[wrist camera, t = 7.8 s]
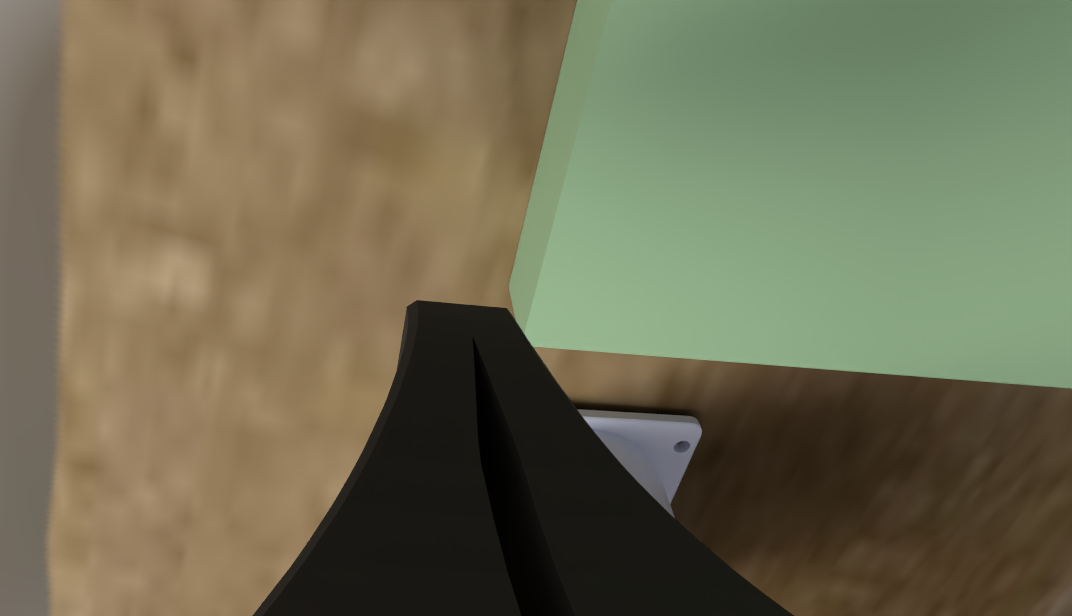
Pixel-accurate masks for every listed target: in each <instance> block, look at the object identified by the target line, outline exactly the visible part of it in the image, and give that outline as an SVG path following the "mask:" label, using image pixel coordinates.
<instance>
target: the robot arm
mask: <svg viewBox="0 0 1072 616" xmlns="http://www.w3.org/2000/svg"><path fill="white" fill-rule="evenodd" d="M701 434H702V429H701V426H700V424H699V422H698V420H697V419H696V418H694V417H691V416H681V415H665V414H648V413H631V412H614V411H598V410H581V409H577V408H576V407H575V406H574V404H573V403H572V402H571V400H570V399H569V398H568V396H567V395H566V394H565V392H564V391H563V390H562V388H561V387H560V386H559V384H558V383H557V381H556V380H555V379H554V377H553V376H552V374H551V373H550V371H549V370H548V368H547V367H546V366H545V364H544V363H543V361H542V360H541V358H540V357H539V355H538V354H537V352H536V351H535V349H534V348H533V346H532V345H531V343H530V342H529V340H528V339H527V337H526V336H525V334H524V333H523V331H522V329H521V328H520V326H519V325H518V323H517V322H516V320H515V319H514V317H513V316H512V314H511V313H510V312H509V311H508V309H507V308H498V307H487V306H476V305H464V304H453V303H442V302H430V301H419V300H417V301H415V302H413V303H412V304H410V305H409V306H407V310H406V316H405V323H404V329H403V335H402V342H401V348H400V354H399V360H398V367H397V372H396V375H395V378H394V380H393V383H392V386H391V389H390V391H389V394H388V397H387V400H386V402H385V404H384V407H383V409H382V411H381V413H380V416H379V418H378V420H377V422H376V424H375V426H374V428H373V431H372V433H371V435H370V437H369V439H368V441H367V443H366V446H365V448H364V450H363V452H362V453H361V455H360V457H359V459H358V461H357V463H356V465H355V467H354V468H353V470H352V472H351V474H350V476H349V477H348V479H347V481H346V483H345V484H344V486H343V488H342V489H341V491H340V493H339V495H338V496H337V498H336V500H335V501H334V503H333V505H332V506H331V508H330V509H329V511H328V512H327V514H326V515H325V517H324V519H323V520H322V522H321V523H320V525H319V526H318V528H317V529H316V531H315V532H314V534H313V535H312V537H311V538H310V540H309V541H308V543H307V544H306V546H305V547H304V549H303V550H302V552H301V553H300V554H299V556H298V557H297V559H296V560H295V561H294V563H293V564H292V566H291V567H290V568H289V570H288V571H287V572H286V573H285V575H284V576H283V577H282V579H281V580H280V581H279V582H278V584H277V585H276V586H275V588H274V589H273V590H272V591H271V593H270V594H269V595H268V597H267V598H266V599H265V600H264V602H263V603H262V604H261V606H260V607H259V608H258V609H257V611H256V612H255V613H254V615H253V616H794V615H792V614H791V613H790V612H788V611H787V610H786V609H784V608H783V607H781V606H780V605H779V604H777V603H776V602H774V601H773V600H772V599H770V598H769V597H768V596H766V595H765V594H764V593H762V592H761V591H760V590H759V589H757V588H756V587H755V586H753V585H752V584H751V583H750V582H748V581H747V580H746V579H744V578H743V577H742V576H741V575H739V574H738V573H737V572H736V571H734V570H733V569H732V568H731V567H730V566H728V565H727V564H726V563H725V562H724V561H723V560H721V559H720V558H719V557H718V556H717V555H715V554H714V553H713V552H712V551H711V550H710V549H708V548H707V547H706V546H705V545H704V544H703V543H701V542H700V541H699V540H698V539H697V538H695V537H694V536H693V535H692V534H691V533H690V532H689V531H688V530H687V529H686V528H685V527H683V526H682V525H681V524H680V523H679V522H678V521H677V520H676V519H675V517H674V514H673V511H672V509H671V506H670V504H671V501H672V499H673V497H674V495H675V492H676V490H677V488H678V486H679V484H680V481H681V479H682V477H683V475H684V472H685V470H686V468H687V466H688V464H689V461H690V459H691V457H692V455H693V453H694V450H695V448H696V446H697V444H698V441H699V439H700V437H701ZM680 441H683V442H682V443H679V444H677V443H678V442H680Z"/></svg>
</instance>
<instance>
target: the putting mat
mask: <svg viewBox="0 0 1072 616" xmlns="http://www.w3.org/2000/svg"><path fill="white" fill-rule="evenodd" d="M509 290H510V295H511V300H512V305H513V309H514V314H515V319H516V322H517V323H518V325H519V326H520V328H521V329H522V331H523V333H524V334H525V336H526V337H527V339H528V340H529V342H530V343H531V345H532V346H533V347H546V348H559V349H572V350H585V351H598V352H610V353H623V354H636V355H649V356H662V357H675V358H688V359H700V360H713V361H726V362H739V363H752V364H765V365H777V366H790V367H803V368H816V369H829V370H842V371H855V372H867V373H880V374H893V375H906V376H919V377H932V378H944V379H957V380H970V381H983V382H996V383H1009V384H1021V385H1034V386H1047V387H1060V388H1072V0H577V4H576V8H575V12H574V16H573V20H572V24H571V29H570V33H569V37H568V41H567V45H566V50H565V54H564V58H563V62H562V66H561V70H560V75H559V79H558V83H557V87H556V91H555V95H554V100H553V104H552V108H551V112H550V116H549V121H548V125H547V129H546V133H545V137H544V141H543V146H542V150H541V154H540V158H539V162H538V166H537V171H536V175H535V179H534V183H533V187H532V192H531V196H530V200H529V204H528V208H527V212H526V217H525V221H524V225H523V229H522V233H521V237H520V242H519V246H518V250H517V254H516V258H515V263H514V267H513V271H512V275H511V279H510V283H509Z"/></svg>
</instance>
